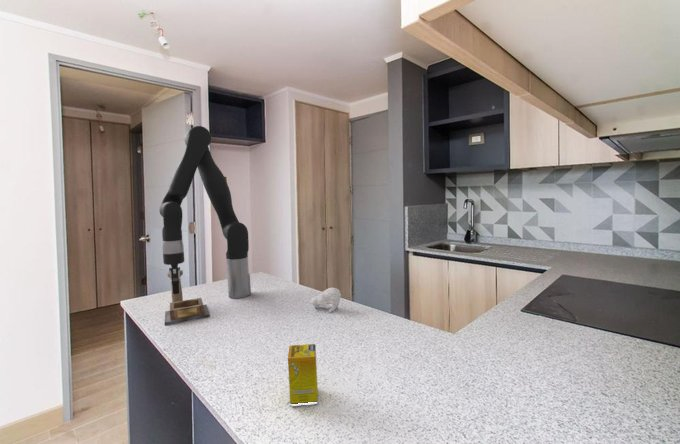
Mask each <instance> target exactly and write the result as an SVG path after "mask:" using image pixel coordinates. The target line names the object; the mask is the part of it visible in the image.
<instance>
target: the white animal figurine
mask: <svg viewBox="0 0 680 444" xmlns="http://www.w3.org/2000/svg"><path fill="white" fill-rule="evenodd" d="M341 297H342V294H341V291H340V290H339V288H336V287H329V288H326V289H324V290H323V291H322V292H321V293H319V295H317V296H313V297H312V298H311V305H312V306H313V307H314V309H319V308H320V307H323V308H326V309H329V310H328V313H332V312H334V311H335V309H338V308H339V305H340V303H341ZM330 305H332V306H331V307H330Z"/></svg>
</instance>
